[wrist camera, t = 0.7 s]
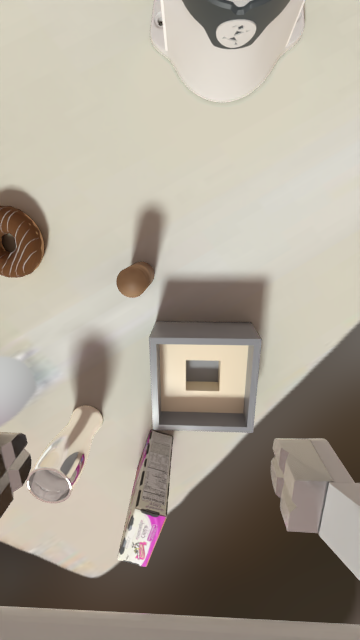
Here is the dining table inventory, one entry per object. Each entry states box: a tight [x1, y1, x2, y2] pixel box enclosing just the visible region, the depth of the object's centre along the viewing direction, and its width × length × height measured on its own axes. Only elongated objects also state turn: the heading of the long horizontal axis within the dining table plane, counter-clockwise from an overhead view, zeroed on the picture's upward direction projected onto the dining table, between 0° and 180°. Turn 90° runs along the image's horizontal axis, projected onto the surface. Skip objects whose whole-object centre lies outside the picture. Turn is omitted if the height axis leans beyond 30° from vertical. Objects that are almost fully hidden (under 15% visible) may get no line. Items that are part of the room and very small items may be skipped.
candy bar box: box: [117, 430, 173, 567], centre depth 47 cm, size 11×5×16 cm, turn 163°
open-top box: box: [149, 321, 262, 433], centre depth 45 cm, size 16×16×8 cm
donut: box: [0, 206, 44, 277], centre depth 42 cm, size 11×11×4 cm
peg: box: [117, 262, 154, 298], centre depth 40 cm, size 4×4×8 cm
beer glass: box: [27, 405, 103, 503], centre depth 46 cm, size 7×7×15 cm
